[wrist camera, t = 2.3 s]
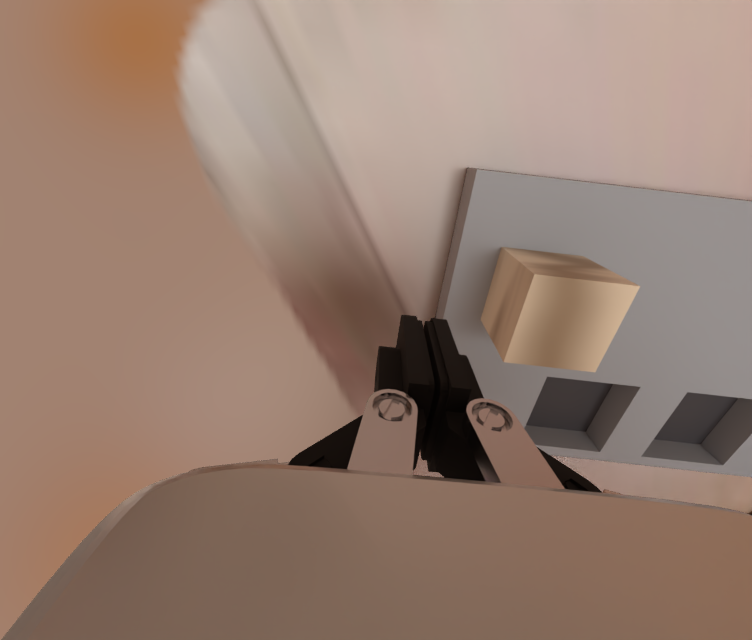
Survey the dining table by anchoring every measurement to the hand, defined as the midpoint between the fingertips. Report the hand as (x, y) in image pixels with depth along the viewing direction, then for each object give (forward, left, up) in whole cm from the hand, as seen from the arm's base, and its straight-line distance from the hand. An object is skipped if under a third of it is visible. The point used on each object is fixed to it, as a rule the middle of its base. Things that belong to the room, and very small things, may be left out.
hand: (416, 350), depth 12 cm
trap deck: (-19, -6, -12) cm, 23 cm away
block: (-7, -4, -9) cm, 12 cm away
